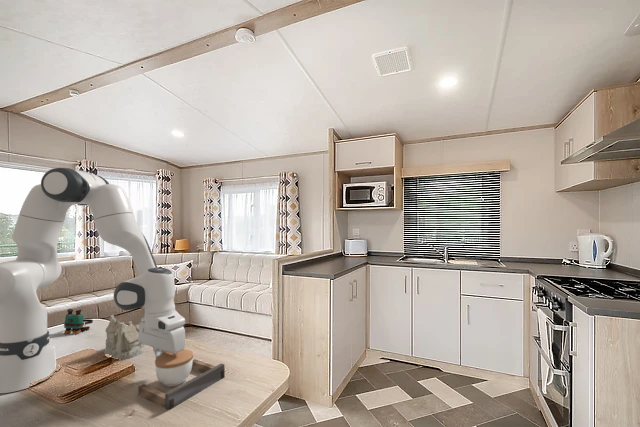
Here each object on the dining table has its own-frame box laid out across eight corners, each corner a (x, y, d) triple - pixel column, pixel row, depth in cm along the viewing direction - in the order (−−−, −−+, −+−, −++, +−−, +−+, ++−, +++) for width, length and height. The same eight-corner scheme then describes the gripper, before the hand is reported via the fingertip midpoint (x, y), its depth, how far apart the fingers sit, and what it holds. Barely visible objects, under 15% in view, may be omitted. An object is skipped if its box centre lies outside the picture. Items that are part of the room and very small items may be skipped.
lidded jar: (179, 392, 89) (178, 360, 89) (147, 389, 91) (146, 357, 91) (200, 373, 99) (199, 345, 99) (171, 371, 101) (170, 343, 101)
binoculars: (97, 306, 146) (77, 310, 136) (95, 329, 145) (75, 335, 135) (81, 306, 147) (60, 310, 138) (79, 328, 146) (58, 334, 136)
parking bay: (138, 394, 88) (138, 381, 88) (195, 366, 104) (194, 354, 104) (168, 410, 80) (168, 394, 80) (224, 377, 97) (224, 364, 97)
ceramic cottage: (119, 362, 108) (121, 319, 109) (95, 355, 116) (97, 314, 117) (160, 348, 122) (161, 310, 123) (136, 342, 129) (137, 306, 131)
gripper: (132, 316, 101) (133, 357, 101) (170, 326, 91) (171, 372, 91) (151, 311, 107) (151, 350, 107) (188, 319, 97) (189, 363, 96)
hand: (160, 360), depth 99 cm, fingers closed
